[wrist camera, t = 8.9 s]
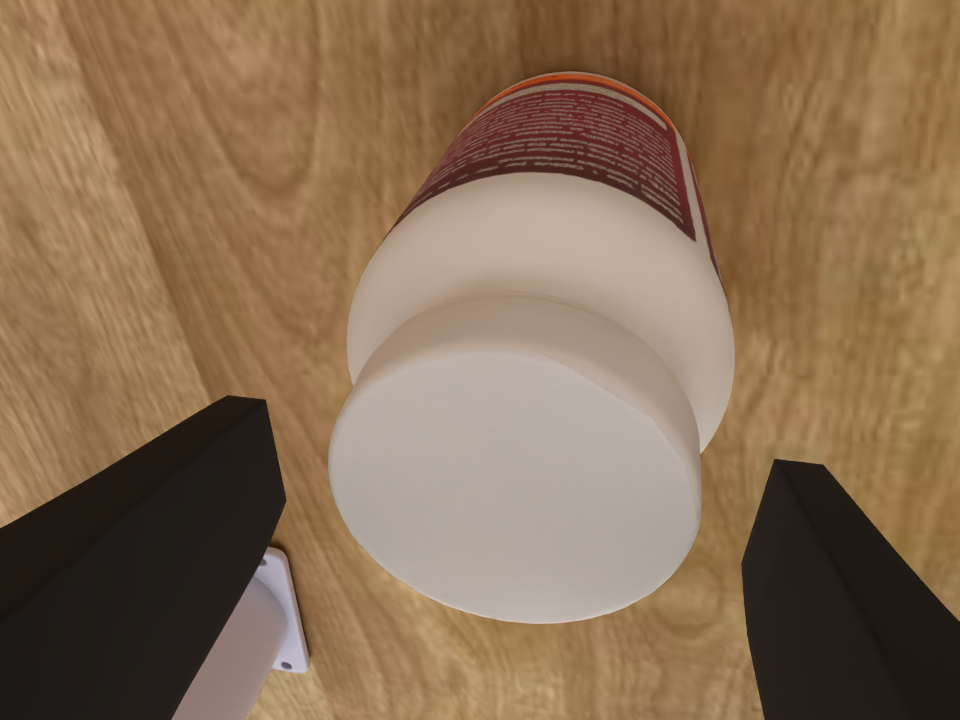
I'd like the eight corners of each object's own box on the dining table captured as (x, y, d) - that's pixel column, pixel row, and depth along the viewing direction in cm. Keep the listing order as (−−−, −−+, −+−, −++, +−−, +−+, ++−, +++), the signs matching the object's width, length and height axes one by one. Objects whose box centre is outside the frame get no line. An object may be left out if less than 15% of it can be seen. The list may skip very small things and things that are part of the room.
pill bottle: (401, 174, 18) (168, 441, 9) (595, 4, 15) (542, 143, 6) (547, 341, 20) (479, 700, 11) (743, 219, 17) (876, 572, 8)
